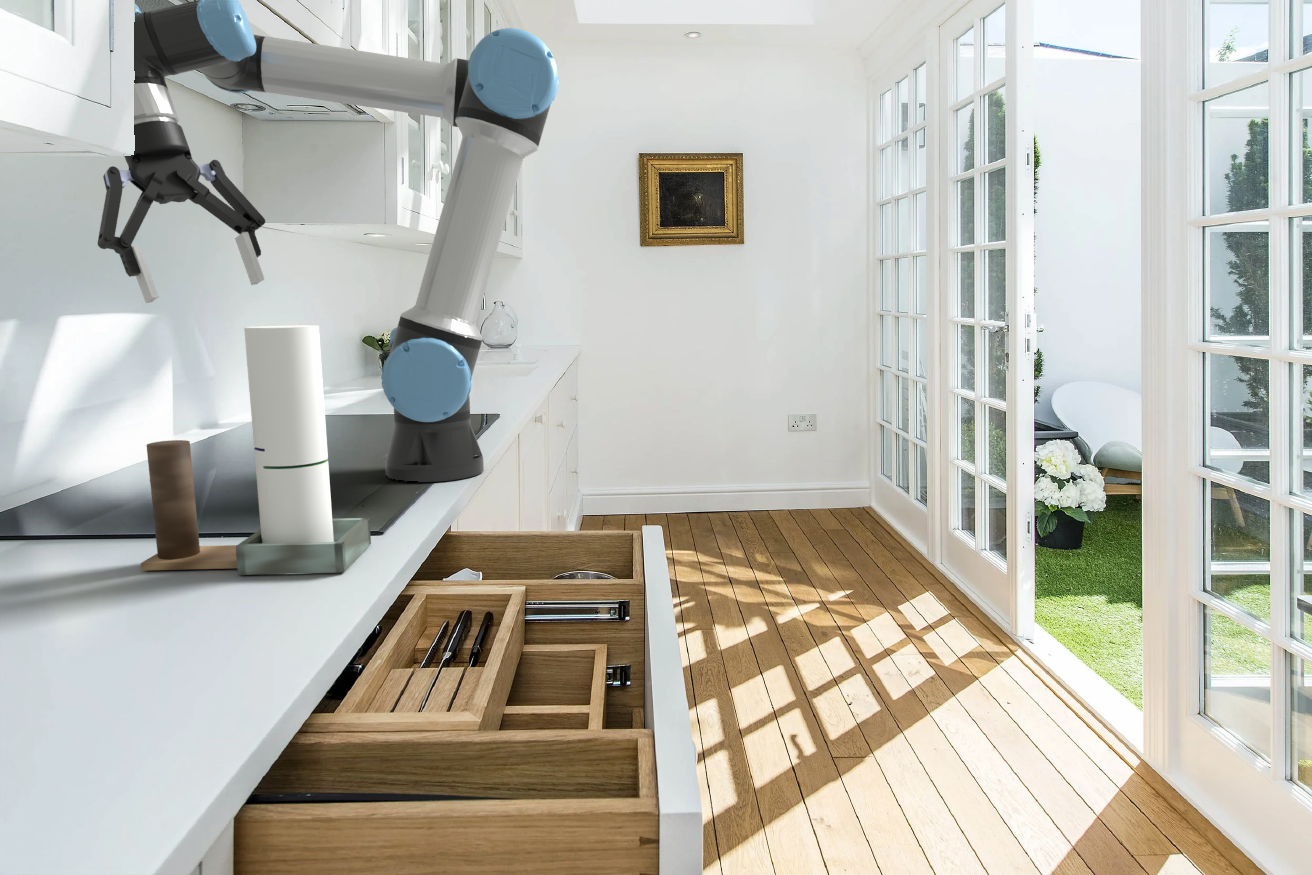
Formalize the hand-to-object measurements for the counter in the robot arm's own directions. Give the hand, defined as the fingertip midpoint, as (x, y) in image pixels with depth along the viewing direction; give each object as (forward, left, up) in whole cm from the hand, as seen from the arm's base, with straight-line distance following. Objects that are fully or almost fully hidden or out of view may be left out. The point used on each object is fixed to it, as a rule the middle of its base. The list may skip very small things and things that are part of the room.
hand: (207, 291), depth 116 cm
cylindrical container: (0, +31, -29) cm, 43 cm away
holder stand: (+3, +29, -29) cm, 41 cm away
